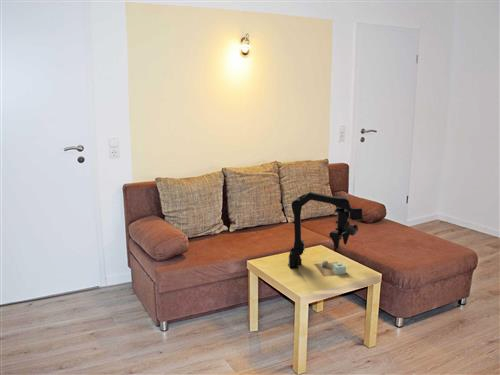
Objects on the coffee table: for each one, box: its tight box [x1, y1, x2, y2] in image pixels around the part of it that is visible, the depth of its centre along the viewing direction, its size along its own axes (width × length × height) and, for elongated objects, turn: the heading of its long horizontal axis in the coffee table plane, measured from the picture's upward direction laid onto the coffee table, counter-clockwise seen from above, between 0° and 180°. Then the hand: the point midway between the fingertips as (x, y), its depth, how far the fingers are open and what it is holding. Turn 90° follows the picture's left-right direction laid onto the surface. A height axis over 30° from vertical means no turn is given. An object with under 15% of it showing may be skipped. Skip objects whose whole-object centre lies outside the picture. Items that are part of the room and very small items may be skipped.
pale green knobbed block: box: [332, 262, 347, 276], centre depth 242 cm, size 6×6×4 cm
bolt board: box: [313, 260, 349, 277], centre depth 247 cm, size 14×18×4 cm
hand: (341, 246), depth 248 cm, fingers open, 9 cm apart
